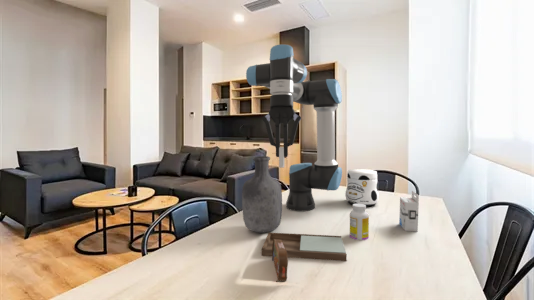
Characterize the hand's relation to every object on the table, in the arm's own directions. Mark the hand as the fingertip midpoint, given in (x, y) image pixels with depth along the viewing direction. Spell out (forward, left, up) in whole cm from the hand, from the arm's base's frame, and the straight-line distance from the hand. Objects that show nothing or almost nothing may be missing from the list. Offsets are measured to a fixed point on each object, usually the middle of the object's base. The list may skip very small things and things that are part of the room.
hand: (281, 166), depth 90 cm
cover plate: (0, +13, -27) cm, 30 cm away
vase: (-17, -10, -29) cm, 35 cm away
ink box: (-28, +49, -29) cm, 63 cm away
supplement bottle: (-13, +27, -29) cm, 42 cm away
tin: (+15, +1, -29) cm, 32 cm away
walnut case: (0, +7, -28) cm, 29 cm away
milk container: (-64, +37, -29) cm, 80 cm away
